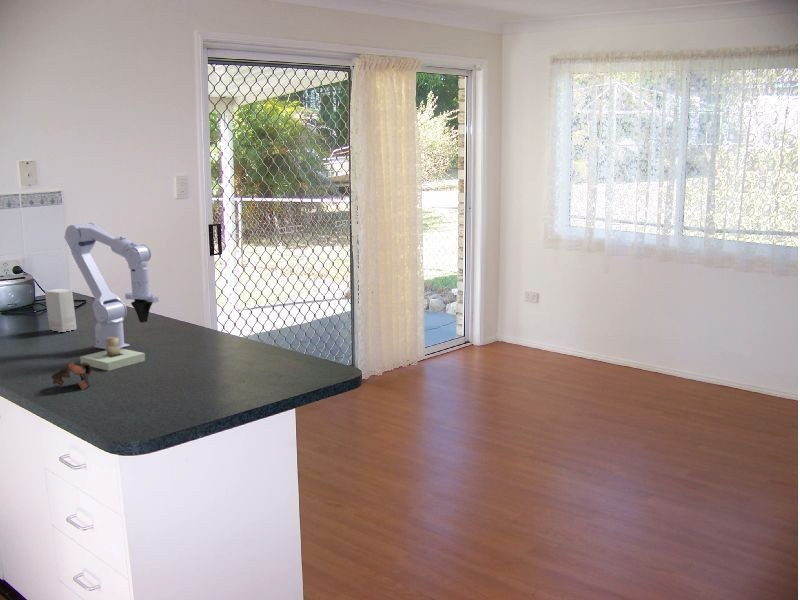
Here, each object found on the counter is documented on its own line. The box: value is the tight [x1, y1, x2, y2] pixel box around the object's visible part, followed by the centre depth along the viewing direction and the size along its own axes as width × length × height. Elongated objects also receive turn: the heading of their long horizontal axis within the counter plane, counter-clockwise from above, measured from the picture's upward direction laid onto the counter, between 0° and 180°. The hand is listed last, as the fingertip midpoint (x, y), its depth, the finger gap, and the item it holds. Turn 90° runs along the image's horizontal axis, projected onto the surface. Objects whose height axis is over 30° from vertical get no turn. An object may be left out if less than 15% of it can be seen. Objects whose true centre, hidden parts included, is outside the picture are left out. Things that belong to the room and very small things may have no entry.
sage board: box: [79, 348, 146, 371], centre depth 267 cm, size 14×14×2 cm
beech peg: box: [106, 337, 120, 358], centre depth 266 cm, size 4×4×8 cm
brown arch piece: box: [50, 361, 92, 391], centre depth 241 cm, size 12×10×8 cm
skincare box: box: [44, 288, 78, 333], centre depth 311 cm, size 8×7×16 cm
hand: (143, 321), depth 278 cm, fingers closed
